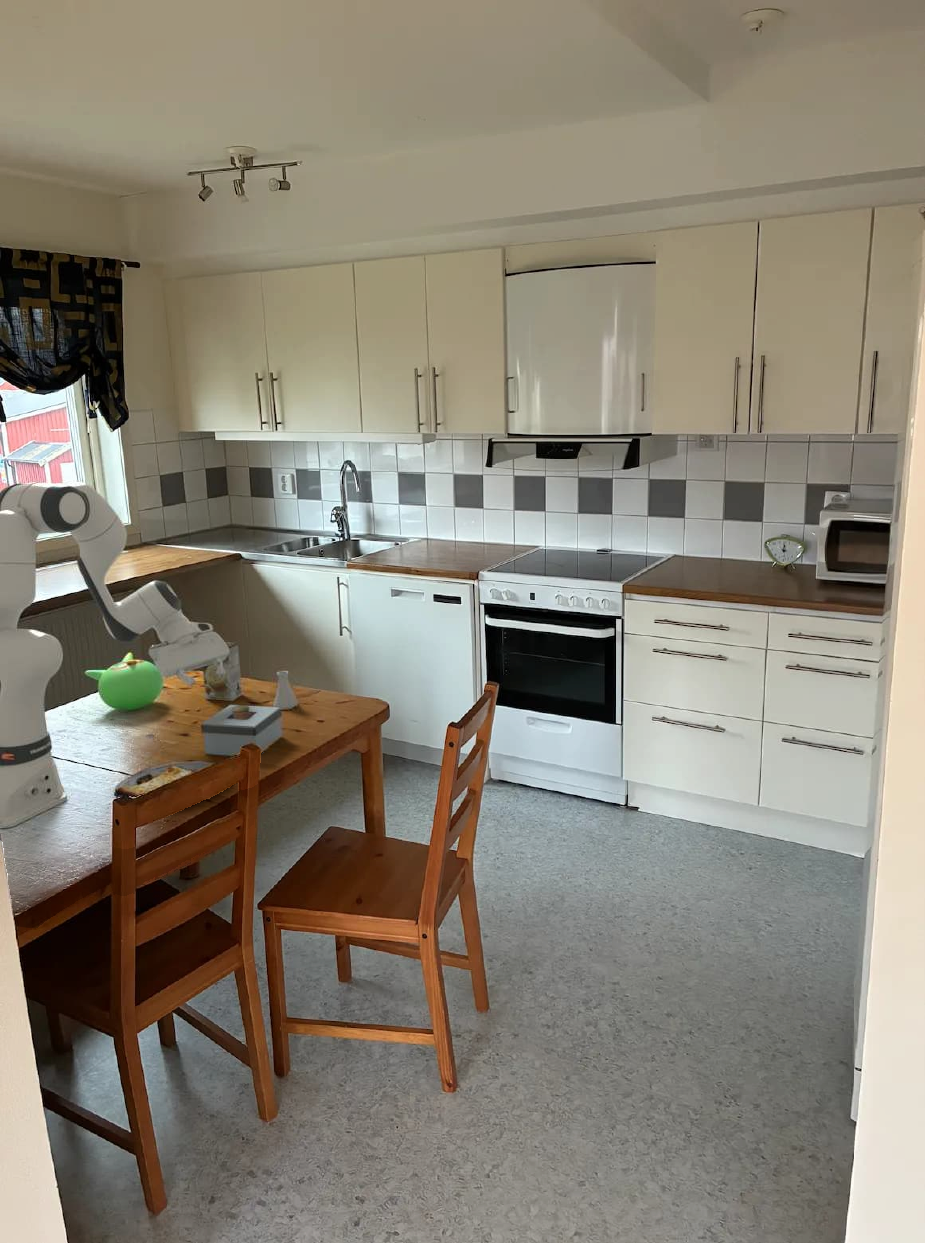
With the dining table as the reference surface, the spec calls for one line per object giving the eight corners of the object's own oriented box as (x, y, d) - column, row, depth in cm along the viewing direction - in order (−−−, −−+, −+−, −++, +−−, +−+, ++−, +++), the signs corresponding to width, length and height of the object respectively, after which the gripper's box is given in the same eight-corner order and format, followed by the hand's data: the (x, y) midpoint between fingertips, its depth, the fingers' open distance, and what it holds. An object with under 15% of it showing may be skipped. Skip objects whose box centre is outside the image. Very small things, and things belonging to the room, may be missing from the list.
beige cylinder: (247, 748, 235) (244, 710, 233) (233, 747, 236) (229, 710, 234) (255, 743, 239) (251, 705, 236) (240, 742, 240) (237, 704, 237)
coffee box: (204, 699, 275) (198, 646, 271) (216, 692, 281) (210, 640, 277) (232, 701, 272) (226, 647, 268) (243, 694, 278) (238, 642, 274)
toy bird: (126, 721, 258) (119, 670, 255) (86, 712, 267) (80, 663, 264) (177, 702, 273) (171, 653, 270) (138, 694, 282) (132, 647, 278)
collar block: (257, 757, 229) (254, 726, 227) (204, 754, 233) (200, 723, 231) (283, 736, 242) (281, 707, 240) (232, 733, 246) (229, 704, 244)
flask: (292, 711, 262) (290, 676, 260) (268, 710, 264) (265, 675, 261) (302, 702, 269) (299, 669, 267) (278, 701, 270) (275, 668, 268)
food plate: (167, 821, 196) (166, 805, 195) (92, 802, 207) (90, 787, 206) (250, 780, 217) (249, 766, 216) (178, 765, 228) (176, 751, 228)
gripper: (149, 639, 235) (178, 683, 231) (215, 622, 250) (243, 662, 247) (141, 654, 238) (169, 697, 235) (206, 636, 254) (233, 676, 251)
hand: (207, 679), depth 241 cm, fingers open, 8 cm apart
